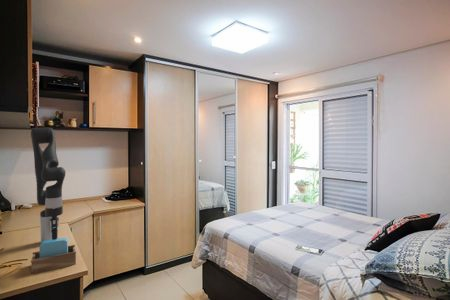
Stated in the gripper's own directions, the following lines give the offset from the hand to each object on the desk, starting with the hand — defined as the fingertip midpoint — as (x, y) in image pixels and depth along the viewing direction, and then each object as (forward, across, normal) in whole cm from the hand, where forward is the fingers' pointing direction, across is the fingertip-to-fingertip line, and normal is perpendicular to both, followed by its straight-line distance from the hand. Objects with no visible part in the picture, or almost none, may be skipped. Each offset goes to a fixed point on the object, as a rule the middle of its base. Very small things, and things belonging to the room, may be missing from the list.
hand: (54, 236), depth 137 cm
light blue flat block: (+14, 0, 0) cm, 14 cm away
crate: (+14, 0, 0) cm, 14 cm away
